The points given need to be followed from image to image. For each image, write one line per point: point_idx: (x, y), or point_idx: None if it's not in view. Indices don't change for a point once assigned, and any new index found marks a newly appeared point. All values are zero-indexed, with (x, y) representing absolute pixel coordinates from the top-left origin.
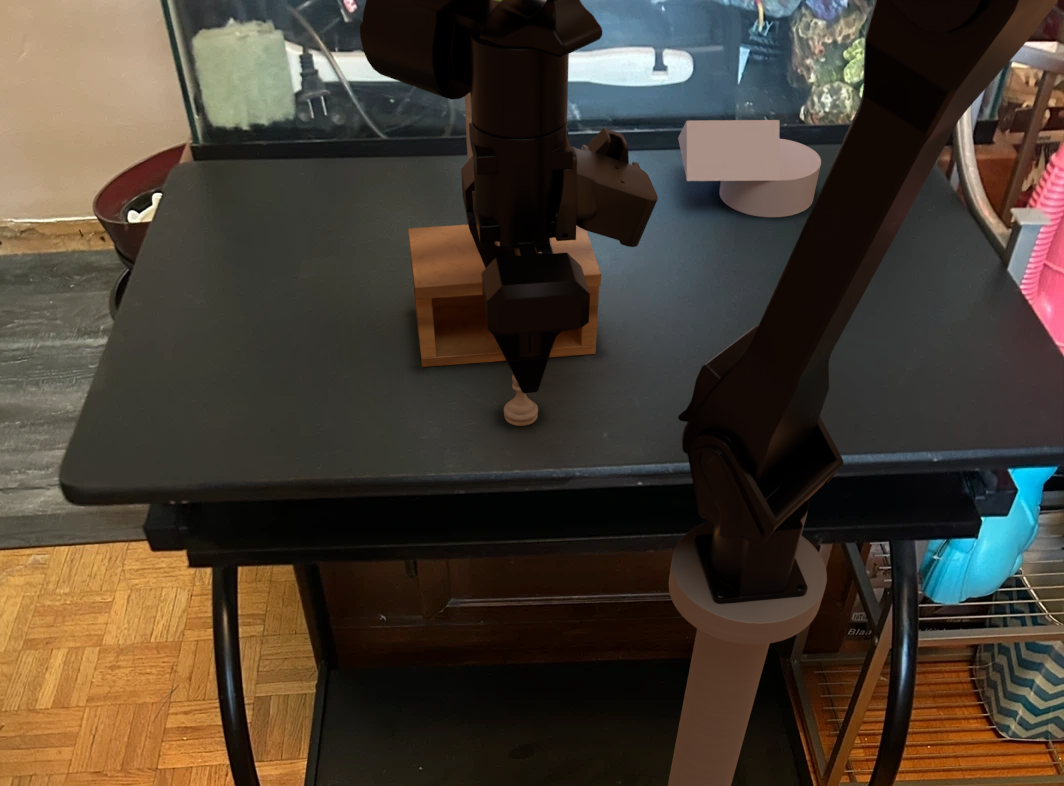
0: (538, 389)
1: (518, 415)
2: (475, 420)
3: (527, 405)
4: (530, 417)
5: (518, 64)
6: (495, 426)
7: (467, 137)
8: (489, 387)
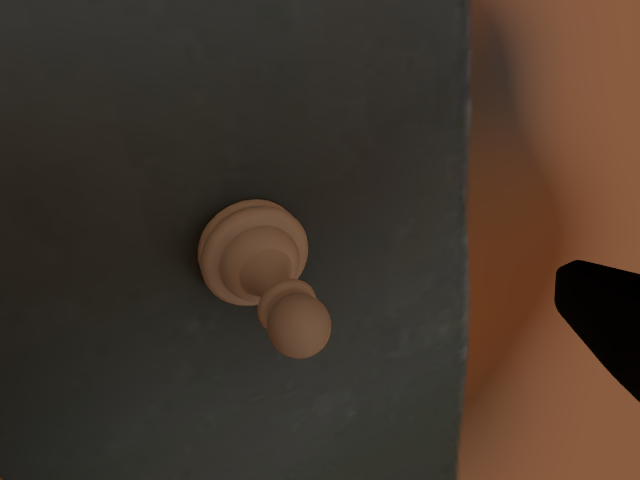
0: (589, 262)
1: (300, 256)
2: None
3: (281, 248)
4: (296, 220)
5: None
6: None
7: None
8: (109, 371)
